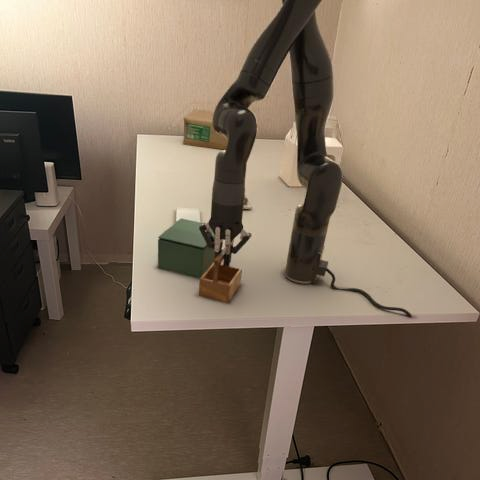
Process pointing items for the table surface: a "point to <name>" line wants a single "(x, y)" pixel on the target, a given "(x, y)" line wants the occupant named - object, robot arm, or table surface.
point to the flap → (189, 226)
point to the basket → (220, 280)
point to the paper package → (202, 130)
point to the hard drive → (188, 214)
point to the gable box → (290, 151)
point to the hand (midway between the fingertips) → (222, 264)
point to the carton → (184, 252)
